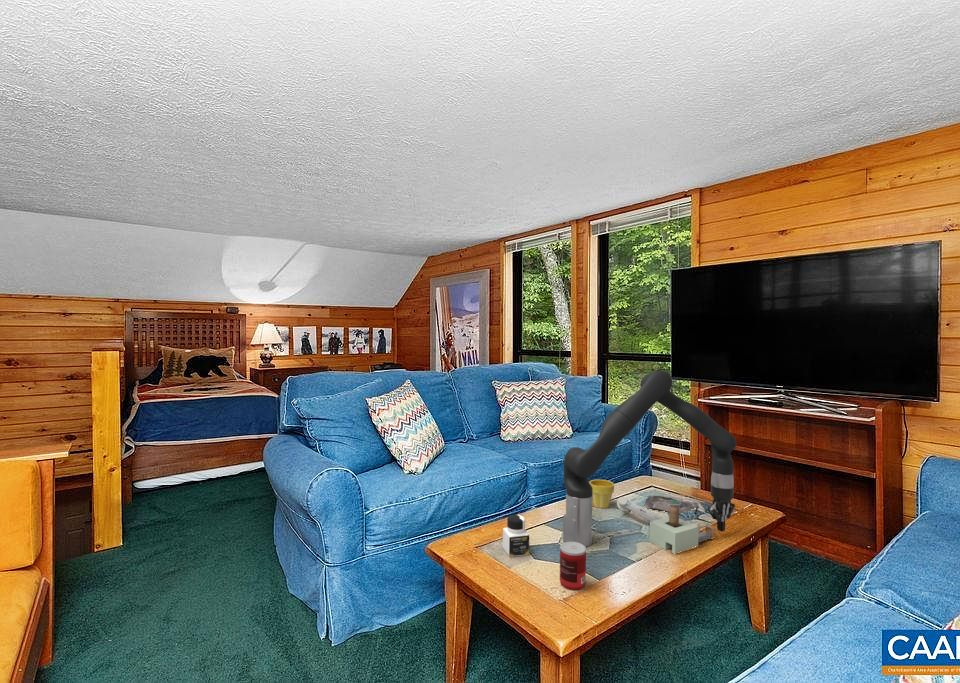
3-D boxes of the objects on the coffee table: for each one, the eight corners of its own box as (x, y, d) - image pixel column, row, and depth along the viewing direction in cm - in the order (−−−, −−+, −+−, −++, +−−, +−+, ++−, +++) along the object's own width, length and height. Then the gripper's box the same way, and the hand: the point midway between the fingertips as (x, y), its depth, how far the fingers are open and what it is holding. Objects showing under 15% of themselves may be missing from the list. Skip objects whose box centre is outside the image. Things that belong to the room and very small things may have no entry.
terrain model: (642, 509, 206) (642, 502, 206) (648, 499, 219) (648, 492, 219) (694, 519, 196) (694, 511, 196) (697, 507, 210) (697, 500, 210)
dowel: (674, 537, 170) (674, 509, 170) (666, 534, 173) (667, 506, 172) (680, 536, 172) (681, 508, 171) (673, 532, 174) (673, 505, 174)
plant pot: (600, 499, 216) (600, 477, 216) (618, 506, 207) (619, 484, 207) (583, 504, 210) (584, 481, 210) (602, 511, 202) (602, 488, 201)
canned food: (581, 576, 149) (582, 541, 149) (588, 590, 141) (589, 553, 141) (557, 576, 149) (557, 541, 149) (562, 590, 141) (563, 553, 141)
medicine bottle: (509, 557, 161) (509, 521, 160) (502, 547, 168) (503, 513, 167) (529, 555, 163) (529, 519, 162) (521, 545, 170) (522, 511, 169)
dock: (674, 554, 165) (675, 533, 164) (649, 541, 174) (649, 521, 174) (698, 546, 170) (698, 526, 170) (672, 534, 180) (672, 515, 180)
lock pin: (691, 545, 171) (691, 534, 170) (685, 543, 173) (685, 532, 172) (714, 538, 177) (715, 527, 177) (709, 535, 179) (709, 525, 179)
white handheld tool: (670, 532, 178) (611, 501, 196) (673, 540, 182) (616, 508, 200) (676, 520, 180) (618, 490, 198) (680, 529, 184) (622, 498, 202)
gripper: (724, 478, 186) (722, 523, 187) (701, 484, 180) (700, 530, 180) (742, 484, 180) (741, 530, 180) (720, 490, 173) (718, 538, 174)
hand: (720, 530), depth 180 cm, fingers closed
